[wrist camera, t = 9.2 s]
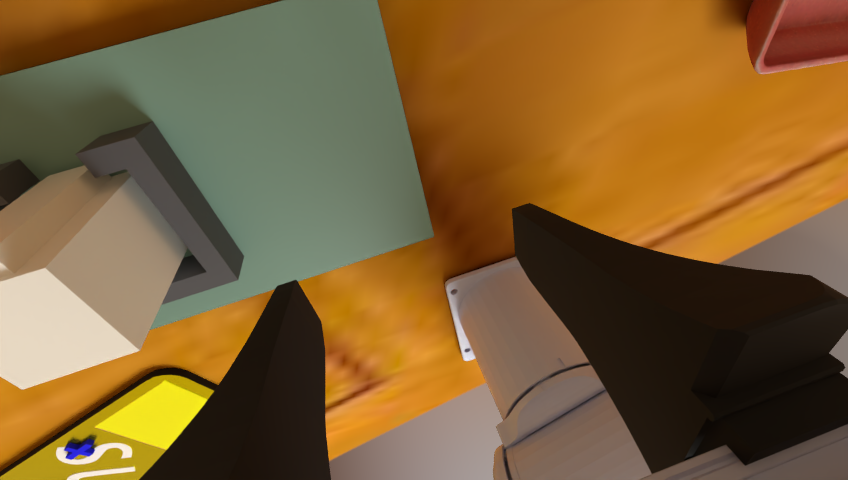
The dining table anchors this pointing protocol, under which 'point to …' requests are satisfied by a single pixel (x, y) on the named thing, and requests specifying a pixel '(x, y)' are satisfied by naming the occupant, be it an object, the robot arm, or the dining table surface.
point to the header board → (235, 142)
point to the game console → (119, 432)
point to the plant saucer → (796, 34)
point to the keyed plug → (80, 274)
